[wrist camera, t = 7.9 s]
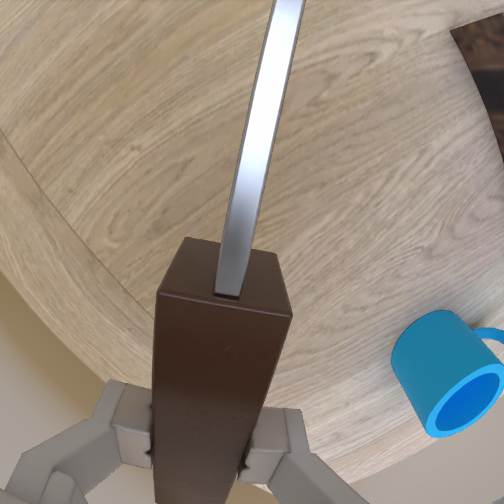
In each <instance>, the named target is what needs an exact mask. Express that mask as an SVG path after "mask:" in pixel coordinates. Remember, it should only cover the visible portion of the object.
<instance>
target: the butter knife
mask: <svg viewBox="0 0 504 504" xmlns="http://www.w3.org/2000/svg"><path fill="white" fill-rule="evenodd" d="M305 3H306V0H273V4H272V8H271V12H270V16H269V20H268V24H267V28H266V33H265V37H264V41H263V45H262V49H261V54H260V58H259V62H258V67H257V71H256V75H255V80H254V84H253V89H252V93H251V98H250V102H249V107H248V111H247V116H246V121H245V125H244V130H243V135H242V139H241V144H240V149H239V154H238V159H237V164H236V169H235V173H234V178H233V183H232V189H231V194H230V199H229V204H228V209H227V214H226V219H225V225H224V230H223V235H222V241H221V243H218V242H212V241H207V240H202V239H196V238H191V237H185V238H184V239H183V241H182V243H181V245H180V247H179V249H178V251H177V253H176V255H175V256H174V258H173V260H172V262H171V264H170V266H169V268H168V270H167V272H166V274H165V276H164V278H163V280H162V282H161V284H160V286H159V288H158V290H157V292H156V304H155V318H154V336H153V359H152V422H153V439H152V445H153V456H154V458H153V479H154V494H155V502H156V503H157V504H225V502H226V500H227V498H228V495H229V493H230V490H231V488H232V486H233V483H234V480H235V478H236V476H237V473H238V468H239V466H240V463H241V460H242V459H243V457H244V455H245V449H246V447H247V444H248V441H249V439H250V437H251V436H252V434H253V431H254V429H255V426H256V423H257V421H258V418H259V415H260V412H261V410H262V407H263V404H264V401H265V398H266V396H267V393H268V390H269V387H270V384H271V381H272V378H273V375H274V372H275V369H276V366H277V363H278V360H279V357H280V354H281V351H282V348H283V345H284V342H285V339H286V336H287V333H288V330H289V327H290V323H291V320H292V317H293V313H292V309H291V305H290V302H289V298H288V294H287V290H286V287H285V283H284V279H283V276H282V272H281V268H280V265H279V261H278V257H277V254H275V253H272V252H267V251H261V250H256V249H251V248H252V243H253V239H254V234H255V229H256V225H257V220H258V216H259V211H260V207H261V202H262V198H263V193H264V189H265V184H266V179H267V175H268V170H269V166H270V161H271V157H272V152H273V148H274V143H275V139H276V134H277V129H278V125H279V120H280V116H281V111H282V107H283V102H284V98H285V93H286V89H287V84H288V80H289V75H290V71H291V66H292V62H293V57H294V53H295V48H296V44H297V39H298V34H299V30H300V25H301V21H302V16H303V12H304V7H305Z"/></svg>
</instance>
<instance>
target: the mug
mask: <svg viewBox="0 0 504 504" xmlns="http://www.w3.org/2000/svg"><path fill="white" fill-rule="evenodd" d="M481 338H484V339H493V340H497V341H499V342H501V343H502V344H504V331H503V330H499V329H496V328H477V329H472V330H471V329H470V328H469V327H468V326H467V325H466V324H465V323H464V322H463V320H462V319H461V318H460V317H459V316H458V315H456V314H454V313H453V312H451V311H444V310H440V311H436V312H432V313H429V314H427V315H425V316H423V317H422V318H420V319H418V320H417V321H415V322H414V323H413V324H412V325H411V326H410V327H409V328H407V329H406V331H405V332H404V333H403V334H402V336H401V337H400V338H399V340H398V341H397V343H396V346H395V348H394V350H393V352H392V360H391V364H392V367H393V371H394V373H395V374H396V376H397V378H398V380H399V382H400V384H401V385H402V387H403V389H404V391H405V393H406V395H407V396H408V398H409V400H410V402H411V404H412V406H413V408H414V410H415V412H416V414H417V415H418V417H419V419H420V421H421V423H422V425H423V427H424V429H425V431H426V433H427V434H428V435H430V436H431V437H435V438H442V437H447V436H451V435H453V434H456V433H458V432H460V431H462V430H464V429H466V428H467V427H468V426H470V425H472V424H473V423H475V422H476V421H477V420H478V419H479V418H481V417H482V416H483V415H484V414H485V413H486V412H487V411H488V410H489V409H490V408H491V407H492V406H493V405H494V403H495V402H496V400H497V399H498V398H499V396H500V395H501V393H502V391H503V389H504V365H503V364H502V363H501V361H500V360H499V359H498V358H497V357H496V356H495V355H494V354H493V352H492V351H491V350H490V349H489V348H488V347H487V346H486V345H485V344H484V343H483V342H482V340H481Z"/></svg>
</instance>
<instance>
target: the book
mask: <svg viewBox="0 0 504 504" xmlns="http://www.w3.org/2000/svg"><path fill="white" fill-rule="evenodd" d="M450 32H451V34H452V36H453V37H454V39H455V41H456V43H457V45H458V47H459V49H460V51H461V53H462V54H463V56H464V58H465V61H466V63H467V65H468V67H469V69H470V71H471V73H472V75H473V78H474V80H475V82H476V84H477V87H478V89H479V92H480V94H481V96H482V99H483V101H484V104H485V106H486V109H487V112H488V114H489V117H490V120H491V123H492V126H493V129H494V132H495V135H496V138H497V141H498V144H499V147H500V151H501V154H502V157H503V161H504V13H500V14H497V15H494V16H491V17H488V18H485V19H482V20H479V21H476V22H473V23H470V24H467V25H464V26H462V27H459V28H456V29H453V30H451V31H450Z"/></svg>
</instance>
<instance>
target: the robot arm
mask: <svg viewBox="0 0 504 504" xmlns="http://www.w3.org/2000/svg"><path fill="white" fill-rule="evenodd" d="M152 439H153V422H152V390H151V389H147V388H143V387H139V386H135V385H132V384H128V383H123V382H120V381H116V380H112V379H110V380H109V381H108V382H107V383H106V385H105V388H104V390H103V392H102V394H101V396H100V399H99V401H98V403H97V405H96V408H95V410H94V412H93V415H92V417H91V419H90V420H88V419H84V420H82V421H80V422H79V423H77V424H75V425H74V426H72V427H70V428H68V429H66V430H65V431H63V432H61V433H59V434H57V435H56V436H54V437H52V438H50V439H48V440H46V441H45V442H43V443H41V444H39V445H37V446H35V447H33V448H32V449H30V450H28V451H26V452H24V453H22V455H21V457H20V459H19V461H18V463H17V465H16V467H15V469H14V471H13V473H12V475H11V477H10V480H9V482H8V484H7V486H6V488H5V490H2V489H0V504H88V502H87V501H86V499H85V497H84V496H85V495H86V494H87V493H88V492H89V491H91V490H92V489H93V488H94V487H95V486H97V485H98V484H99V483H100V482H102V481H103V480H104V479H105V478H106V477H108V476H109V475H110V474H111V473H113V472H114V471H115V470H116V469H117V468H118V467H120V466H121V465H122V463H124V464H128V465H133V466H137V467H142V468H147V469H151V468H152V463H153V458H154V456H153V445H152ZM238 482H242V483H253V484H268V485H267V486H268V488H269V489H270V491H271V492H272V493H273V495H274V496H275V497H276V499H277V500H278V501H279V503H280V504H369V503H368V502H367V501H366V500H365V499H364V498H362V497H361V496H360V495H359V494H358V493H357V492H356V491H355V490H353V489H352V488H351V487H350V486H349V485H348V484H347V483H346V482H345V481H344V480H343V479H341V478H340V477H339V476H338V475H337V474H336V473H335V472H334V471H333V470H332V469H331V468H330V467H329V466H328V465H327V464H326V463H325V462H323V461H322V460H321V459H320V458H319V457H318V456H317V455H316V454H313V453H310V450H309V445H308V440H307V435H306V430H305V425H304V420H303V415H302V411H301V410H300V409H289V408H276V407H262V410H261V412H260V415H259V418H258V421H257V423H256V426H255V429H254V431H253V434H252V436H251V437H250V439H249V441H248V444H247V447H246V449H245V455H244V457H243V459H242V460H241V463H240V466H239V468H238ZM490 504H504V497H502V498H500V499H498V500H496V501H494V502H492V503H490Z"/></svg>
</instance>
